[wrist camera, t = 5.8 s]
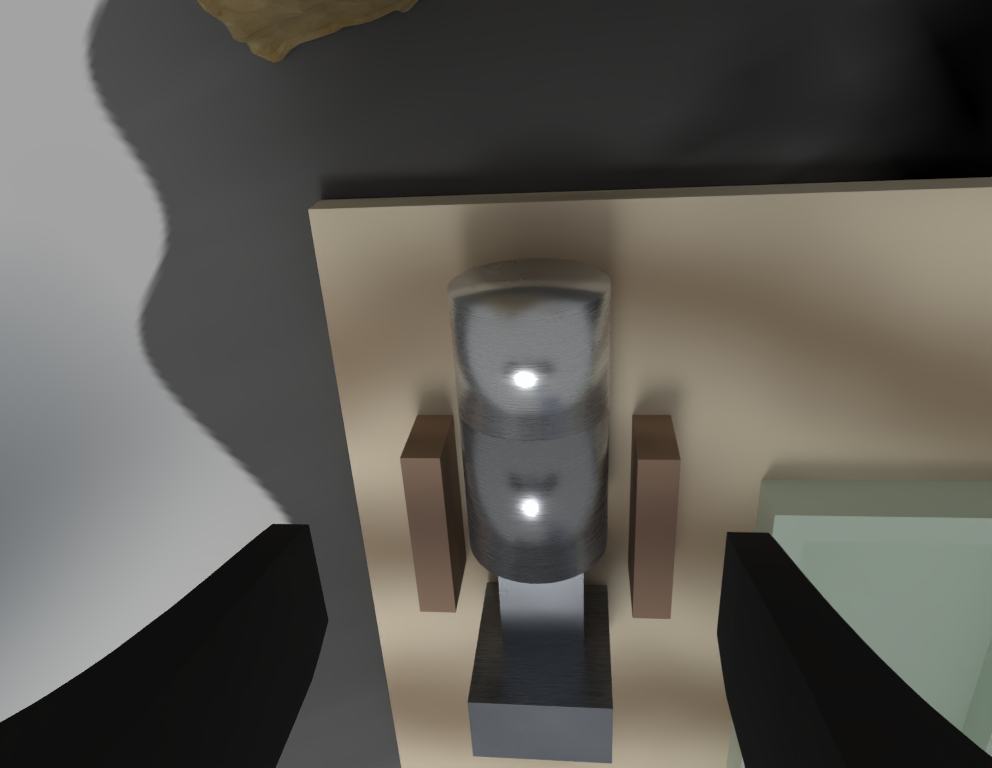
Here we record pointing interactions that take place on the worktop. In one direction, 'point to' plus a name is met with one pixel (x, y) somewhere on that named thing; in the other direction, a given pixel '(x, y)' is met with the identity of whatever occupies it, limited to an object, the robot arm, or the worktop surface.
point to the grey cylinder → (534, 414)
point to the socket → (441, 518)
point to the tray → (900, 580)
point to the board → (666, 398)
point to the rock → (294, 20)
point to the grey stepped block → (543, 673)
